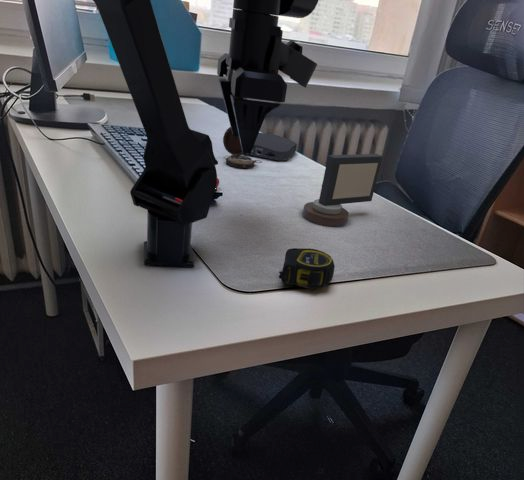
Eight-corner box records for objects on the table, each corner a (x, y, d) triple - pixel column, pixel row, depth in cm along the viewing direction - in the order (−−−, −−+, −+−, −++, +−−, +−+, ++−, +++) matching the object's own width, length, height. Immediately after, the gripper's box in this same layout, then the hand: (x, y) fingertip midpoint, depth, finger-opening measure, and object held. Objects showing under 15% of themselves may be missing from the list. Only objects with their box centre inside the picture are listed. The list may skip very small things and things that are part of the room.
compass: (230, 168, 108) (234, 132, 104) (220, 157, 114) (223, 122, 110) (265, 170, 110) (270, 134, 106) (254, 159, 116) (258, 125, 112)
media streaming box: (298, 151, 129) (300, 139, 127) (284, 163, 117) (286, 150, 115) (243, 139, 131) (245, 127, 129) (224, 150, 119) (225, 137, 117)
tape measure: (283, 266, 71) (287, 241, 69) (331, 276, 71) (337, 251, 69) (276, 288, 66) (280, 261, 64) (328, 299, 65) (335, 272, 63)
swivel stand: (353, 228, 88) (355, 219, 87) (309, 225, 86) (310, 216, 85) (338, 211, 95) (340, 203, 94) (297, 208, 93) (299, 200, 92)
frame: (324, 215, 87) (336, 161, 82) (306, 205, 90) (317, 152, 85) (376, 210, 93) (390, 159, 88) (357, 200, 96) (370, 151, 91)
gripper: (340, 28, 58) (313, 169, 66) (299, 18, 72) (282, 134, 81) (243, 12, 55) (228, 161, 64) (221, 5, 70) (212, 126, 79)
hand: (241, 144), depth 72 cm, fingers open, 9 cm apart
